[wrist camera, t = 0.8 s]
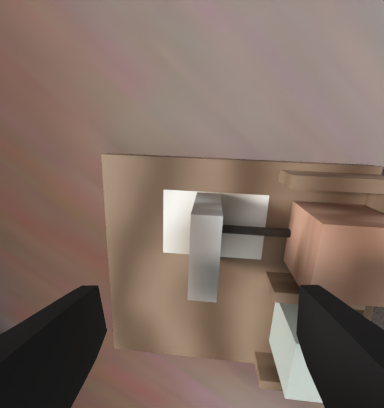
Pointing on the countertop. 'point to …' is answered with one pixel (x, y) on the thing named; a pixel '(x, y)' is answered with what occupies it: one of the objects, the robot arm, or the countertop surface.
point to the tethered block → (299, 248)
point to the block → (290, 355)
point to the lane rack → (229, 255)
